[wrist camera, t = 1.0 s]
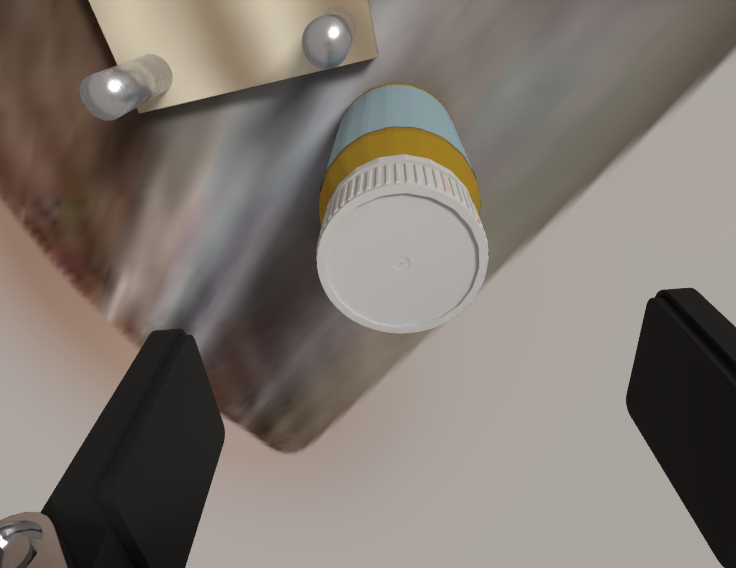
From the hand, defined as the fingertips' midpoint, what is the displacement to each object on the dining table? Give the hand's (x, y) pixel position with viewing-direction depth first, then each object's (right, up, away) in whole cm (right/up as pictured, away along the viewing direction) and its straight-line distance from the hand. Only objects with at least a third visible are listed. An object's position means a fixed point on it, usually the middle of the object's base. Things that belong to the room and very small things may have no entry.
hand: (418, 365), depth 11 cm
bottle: (+1, +10, +20) cm, 23 cm away
